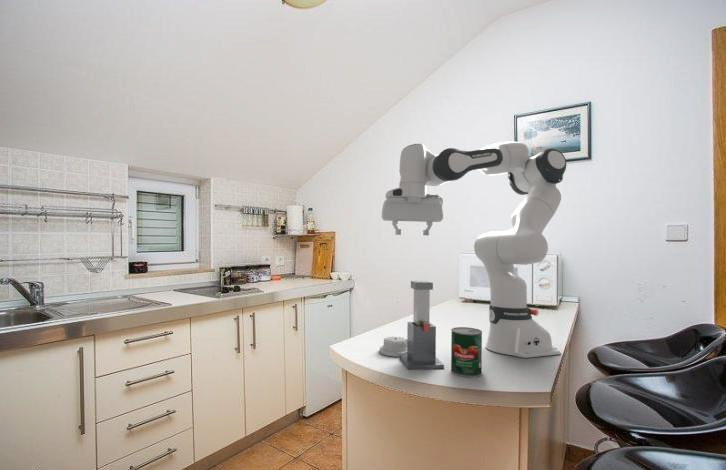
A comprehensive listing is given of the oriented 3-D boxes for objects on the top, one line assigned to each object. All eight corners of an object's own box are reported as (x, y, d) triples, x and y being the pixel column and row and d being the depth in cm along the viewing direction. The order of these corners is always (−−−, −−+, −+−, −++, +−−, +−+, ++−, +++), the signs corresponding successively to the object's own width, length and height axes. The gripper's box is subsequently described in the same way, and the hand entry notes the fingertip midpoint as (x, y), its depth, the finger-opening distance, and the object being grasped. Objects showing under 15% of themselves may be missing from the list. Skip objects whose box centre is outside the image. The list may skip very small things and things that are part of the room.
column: (426, 339, 103) (427, 280, 103) (432, 343, 98) (432, 282, 98) (410, 339, 102) (410, 280, 103) (415, 344, 97) (415, 282, 98)
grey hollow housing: (432, 357, 105) (432, 317, 106) (444, 368, 95) (444, 324, 96) (399, 358, 104) (400, 317, 104) (408, 369, 94) (408, 324, 94)
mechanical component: (411, 358, 104) (411, 349, 114) (411, 343, 104) (411, 335, 114) (378, 356, 106) (380, 347, 115) (378, 342, 106) (381, 334, 116)
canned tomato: (455, 377, 89) (455, 333, 89) (447, 366, 97) (447, 326, 97) (486, 377, 89) (486, 334, 90) (476, 367, 97) (476, 327, 97)
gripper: (439, 195, 120) (439, 236, 120) (380, 193, 117) (380, 234, 117) (446, 193, 114) (446, 235, 113) (384, 190, 111) (384, 234, 111)
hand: (412, 235), depth 115 cm, fingers open, 8 cm apart
